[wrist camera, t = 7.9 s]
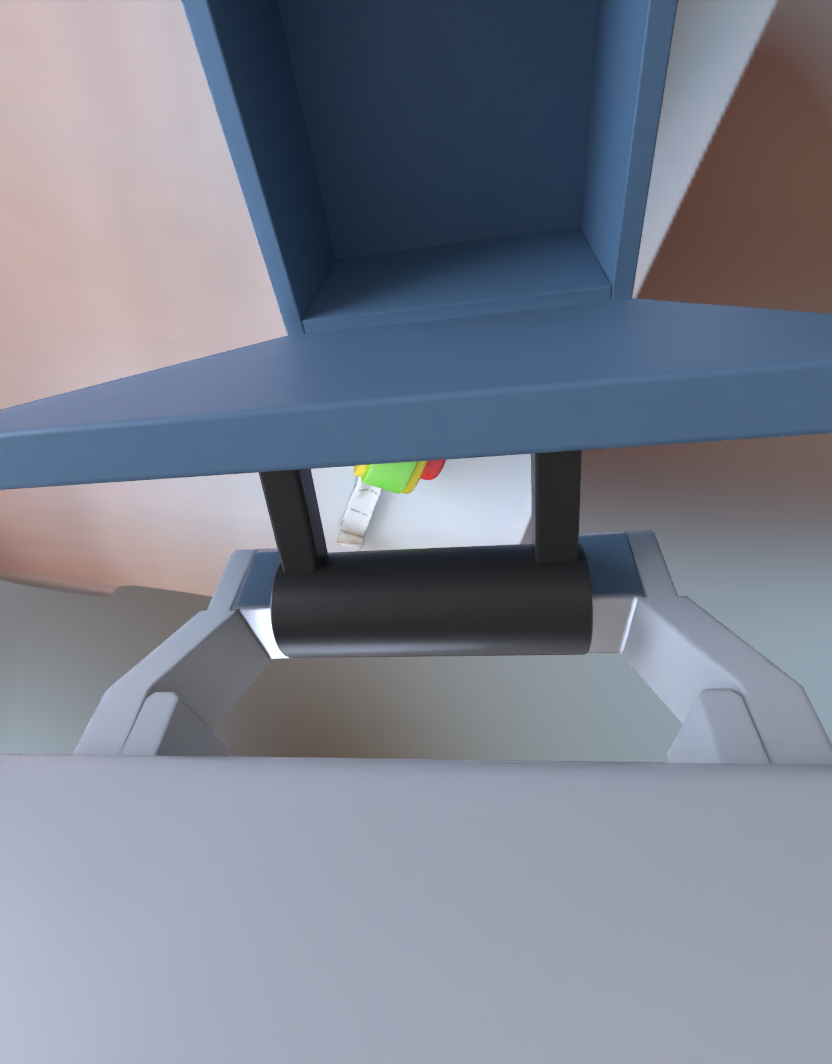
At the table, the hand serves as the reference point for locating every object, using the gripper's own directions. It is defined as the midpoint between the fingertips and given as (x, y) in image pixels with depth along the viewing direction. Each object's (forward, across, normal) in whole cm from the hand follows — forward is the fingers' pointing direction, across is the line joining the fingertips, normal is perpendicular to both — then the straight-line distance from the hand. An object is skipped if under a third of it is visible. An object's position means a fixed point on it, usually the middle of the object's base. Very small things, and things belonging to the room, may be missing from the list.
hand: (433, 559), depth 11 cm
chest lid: (+6, 0, -2) cm, 6 cm away
